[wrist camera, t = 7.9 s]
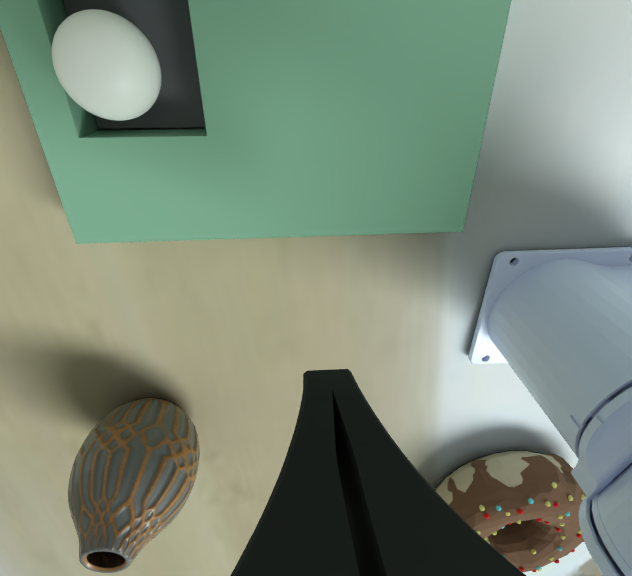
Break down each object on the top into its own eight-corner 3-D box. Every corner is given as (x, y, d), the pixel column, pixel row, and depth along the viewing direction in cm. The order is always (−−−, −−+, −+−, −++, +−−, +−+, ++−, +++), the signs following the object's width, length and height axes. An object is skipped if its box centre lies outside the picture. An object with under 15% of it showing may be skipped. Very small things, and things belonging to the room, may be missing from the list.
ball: (112, 9, 15) (165, 4, 13) (141, 106, 17) (190, 113, 15) (13, 14, 13) (60, 8, 11) (60, 125, 15) (107, 135, 13)
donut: (409, 457, 31) (429, 522, 27) (580, 423, 30) (629, 483, 26) (422, 543, 38) (439, 604, 34) (559, 517, 38) (595, 576, 33)
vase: (82, 392, 25) (-6, 538, 17) (187, 373, 24) (145, 512, 17) (128, 457, 28) (72, 602, 21) (219, 441, 28) (196, 581, 20)
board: (519, -177, 13) (555, -213, 11) (447, 217, 20) (462, 231, 18) (-41, -198, 12) (-95, -241, 10) (94, 227, 19) (76, 243, 17)
